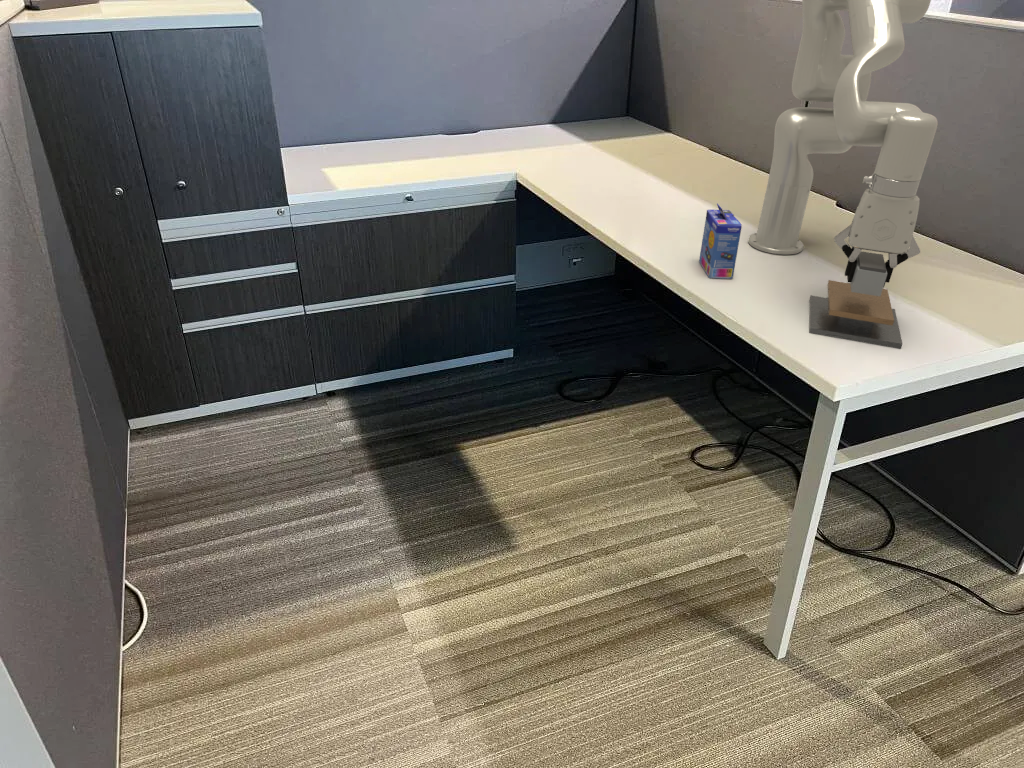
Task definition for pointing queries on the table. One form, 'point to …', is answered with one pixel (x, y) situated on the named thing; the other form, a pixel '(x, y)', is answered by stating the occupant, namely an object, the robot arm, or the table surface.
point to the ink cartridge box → (720, 243)
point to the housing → (869, 274)
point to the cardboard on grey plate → (854, 316)
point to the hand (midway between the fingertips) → (865, 281)
